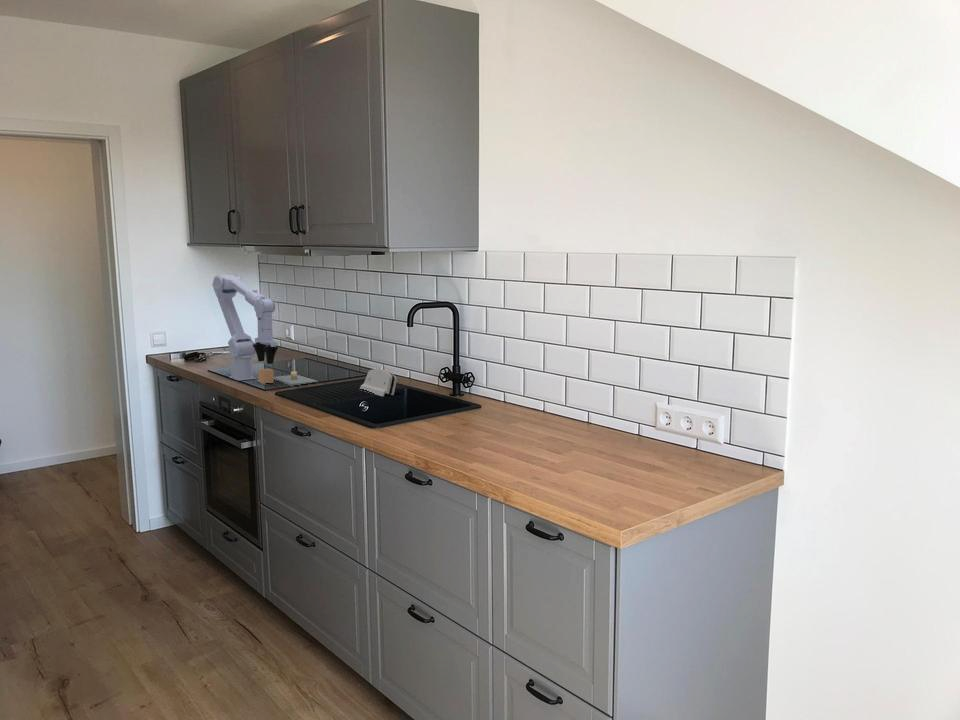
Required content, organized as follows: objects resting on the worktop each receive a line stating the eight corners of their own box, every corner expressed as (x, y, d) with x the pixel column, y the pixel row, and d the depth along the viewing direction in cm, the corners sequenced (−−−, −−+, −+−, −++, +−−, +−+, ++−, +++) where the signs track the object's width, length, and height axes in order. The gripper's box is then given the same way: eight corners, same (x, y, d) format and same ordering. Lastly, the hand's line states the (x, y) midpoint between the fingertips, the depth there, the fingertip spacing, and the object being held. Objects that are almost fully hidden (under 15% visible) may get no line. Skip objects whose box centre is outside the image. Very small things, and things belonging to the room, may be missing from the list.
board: (270, 379, 329) (270, 370, 328) (296, 376, 337) (296, 367, 336) (291, 386, 316) (291, 376, 315) (318, 383, 324) (318, 373, 323)
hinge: (359, 389, 313) (366, 365, 314) (368, 392, 316) (375, 368, 317) (383, 396, 301) (390, 371, 301) (392, 399, 304) (400, 374, 305)
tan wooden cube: (258, 382, 321) (257, 369, 321) (268, 381, 325) (268, 368, 324) (263, 384, 318) (263, 371, 317) (273, 383, 321) (273, 370, 320)
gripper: (247, 327, 321) (248, 360, 323) (264, 331, 310) (264, 365, 312) (263, 326, 325) (264, 359, 327) (280, 330, 315) (281, 364, 317)
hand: (265, 362), depth 320 cm, fingers open, 7 cm apart
